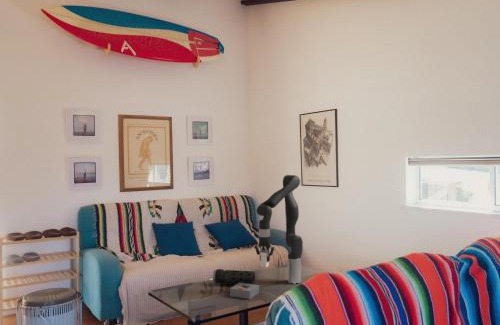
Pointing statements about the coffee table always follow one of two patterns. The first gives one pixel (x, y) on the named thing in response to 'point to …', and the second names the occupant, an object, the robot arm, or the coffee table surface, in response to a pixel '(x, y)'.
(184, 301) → the coffee table surface
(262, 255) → the plug
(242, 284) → the socket
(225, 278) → the muzzle brake
